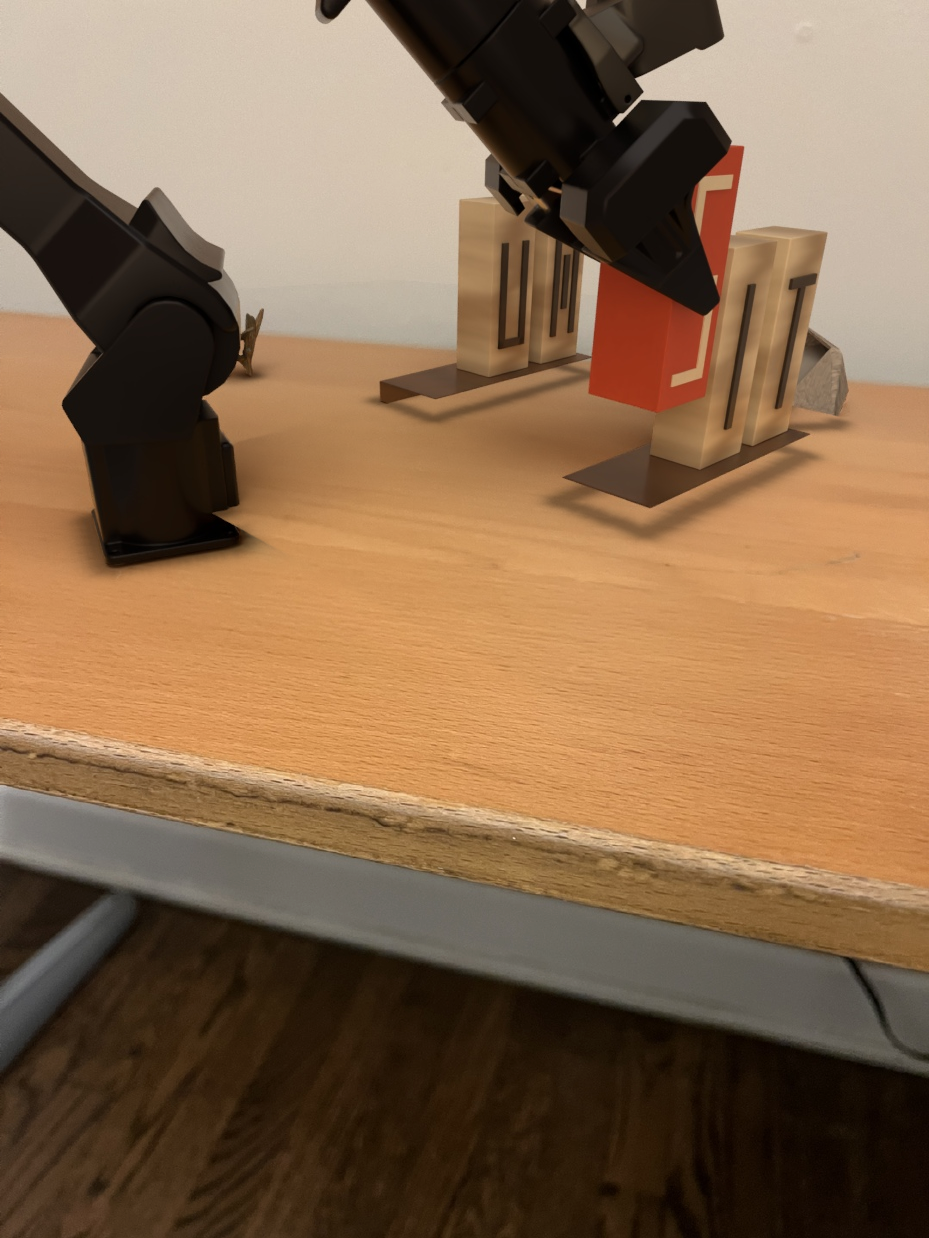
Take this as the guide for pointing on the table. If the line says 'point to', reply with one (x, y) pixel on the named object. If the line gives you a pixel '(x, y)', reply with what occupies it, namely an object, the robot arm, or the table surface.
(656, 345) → the red letter block
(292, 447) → the table surface
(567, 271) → the wooden blocks on base
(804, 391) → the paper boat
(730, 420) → the sit board
